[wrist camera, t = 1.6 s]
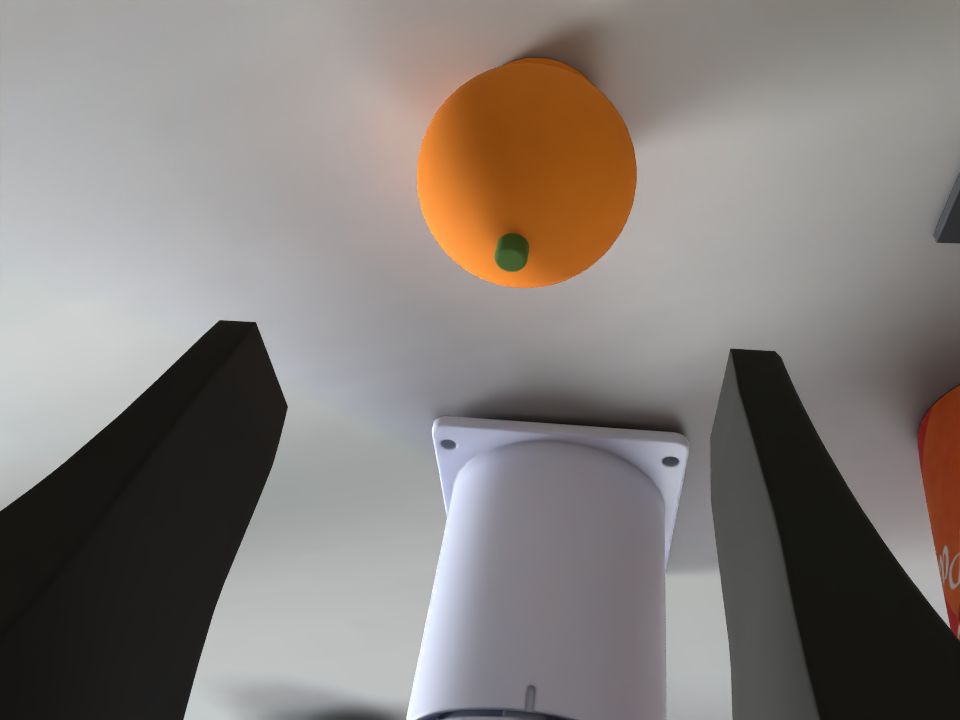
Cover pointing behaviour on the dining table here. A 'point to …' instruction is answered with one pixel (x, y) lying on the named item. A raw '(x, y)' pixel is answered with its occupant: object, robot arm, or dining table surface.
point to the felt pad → (950, 218)
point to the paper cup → (944, 493)
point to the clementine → (527, 174)
